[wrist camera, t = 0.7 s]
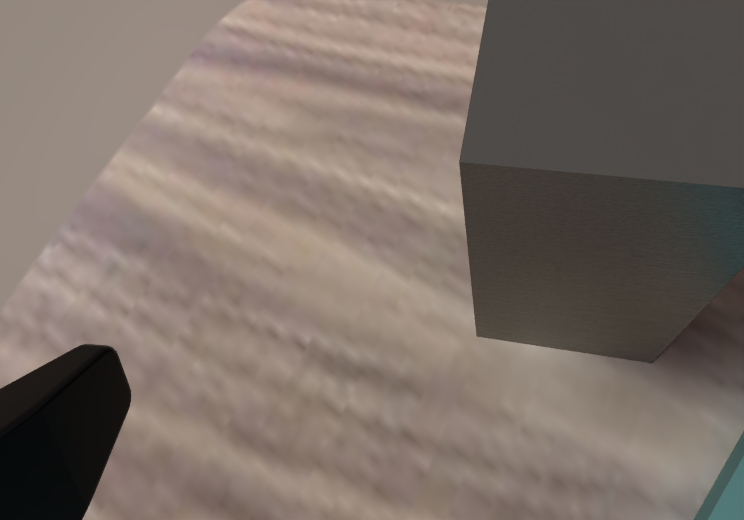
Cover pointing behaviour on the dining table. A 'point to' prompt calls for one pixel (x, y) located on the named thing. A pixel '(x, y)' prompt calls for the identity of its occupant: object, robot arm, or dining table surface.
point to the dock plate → (727, 490)
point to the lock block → (604, 170)
